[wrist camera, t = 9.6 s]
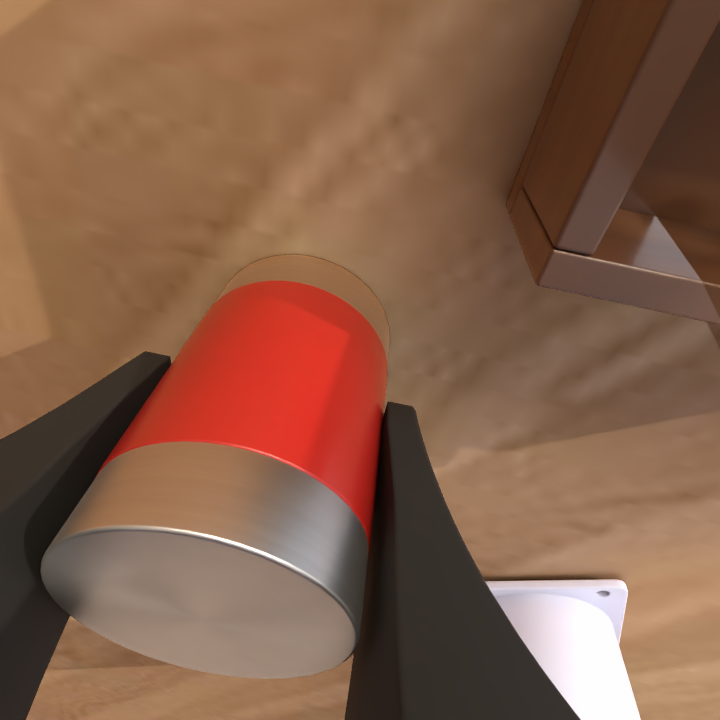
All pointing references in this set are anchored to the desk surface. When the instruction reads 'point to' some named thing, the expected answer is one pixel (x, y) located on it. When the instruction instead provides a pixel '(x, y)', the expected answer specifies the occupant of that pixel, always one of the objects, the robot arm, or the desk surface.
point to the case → (629, 160)
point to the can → (242, 485)
